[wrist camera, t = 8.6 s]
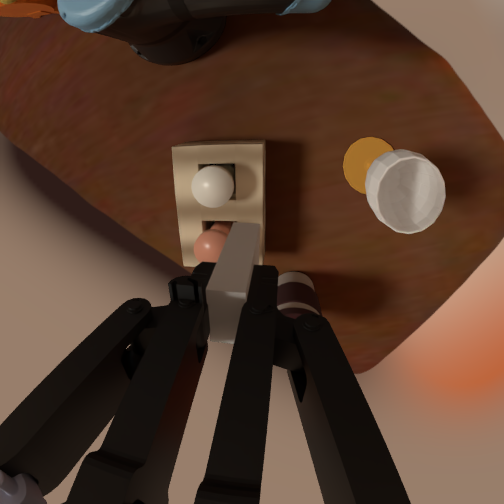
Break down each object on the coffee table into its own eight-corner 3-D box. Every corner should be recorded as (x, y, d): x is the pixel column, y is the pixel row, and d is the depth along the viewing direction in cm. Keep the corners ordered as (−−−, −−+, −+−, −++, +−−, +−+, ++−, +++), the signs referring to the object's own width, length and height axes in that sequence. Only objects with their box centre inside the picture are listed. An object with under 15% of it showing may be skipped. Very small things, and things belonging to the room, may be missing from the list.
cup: (356, 203, 43) (387, 250, 29) (333, 150, 40) (359, 172, 26) (405, 181, 41) (455, 218, 26) (385, 128, 37) (435, 140, 23)
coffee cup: (273, 314, 55) (268, 376, 41) (257, 270, 51) (247, 329, 37) (325, 304, 52) (334, 365, 39) (314, 257, 48) (323, 315, 35)
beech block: (185, 142, 42) (171, 147, 36) (265, 139, 40) (262, 144, 35) (194, 248, 50) (183, 266, 45) (265, 251, 49) (262, 269, 43)
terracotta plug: (207, 210, 44) (191, 232, 37) (241, 211, 44) (232, 233, 36) (209, 242, 46) (195, 267, 39) (242, 243, 46) (233, 269, 39)
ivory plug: (206, 157, 42) (190, 167, 34) (241, 156, 41) (232, 166, 34) (208, 190, 44) (193, 207, 37) (242, 190, 44) (233, 208, 36)
